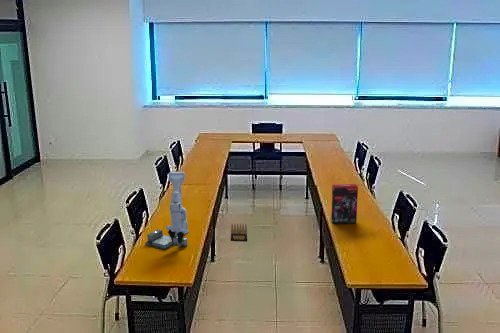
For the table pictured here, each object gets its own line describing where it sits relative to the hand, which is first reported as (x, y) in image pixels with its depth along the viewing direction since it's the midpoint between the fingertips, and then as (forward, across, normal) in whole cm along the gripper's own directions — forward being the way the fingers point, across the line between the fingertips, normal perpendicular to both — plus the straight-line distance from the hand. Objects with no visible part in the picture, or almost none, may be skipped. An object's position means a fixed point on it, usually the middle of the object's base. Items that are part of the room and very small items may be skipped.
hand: (176, 242), depth 323 cm
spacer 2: (+5, 0, +7) cm, 9 cm away
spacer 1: (+2, 0, 0) cm, 2 cm away
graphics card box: (+6, +73, +95) cm, 120 cm away
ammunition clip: (+5, +26, +31) cm, 41 cm away
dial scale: (+5, -14, +3) cm, 15 cm away
